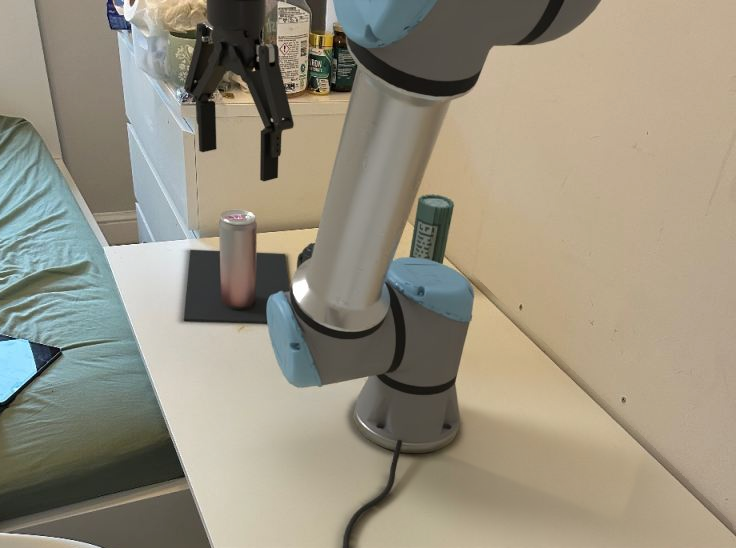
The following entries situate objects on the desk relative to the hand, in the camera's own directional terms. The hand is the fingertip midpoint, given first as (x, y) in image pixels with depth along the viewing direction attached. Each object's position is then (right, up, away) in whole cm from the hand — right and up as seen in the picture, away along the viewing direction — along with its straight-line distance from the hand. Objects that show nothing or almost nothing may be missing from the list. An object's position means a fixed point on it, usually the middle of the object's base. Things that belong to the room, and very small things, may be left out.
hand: (237, 164), depth 108 cm
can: (+30, -7, +34) cm, 46 cm away
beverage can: (-3, -15, +20) cm, 25 cm away
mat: (-4, -10, +25) cm, 27 cm away
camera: (+13, -10, +27) cm, 32 cm away
